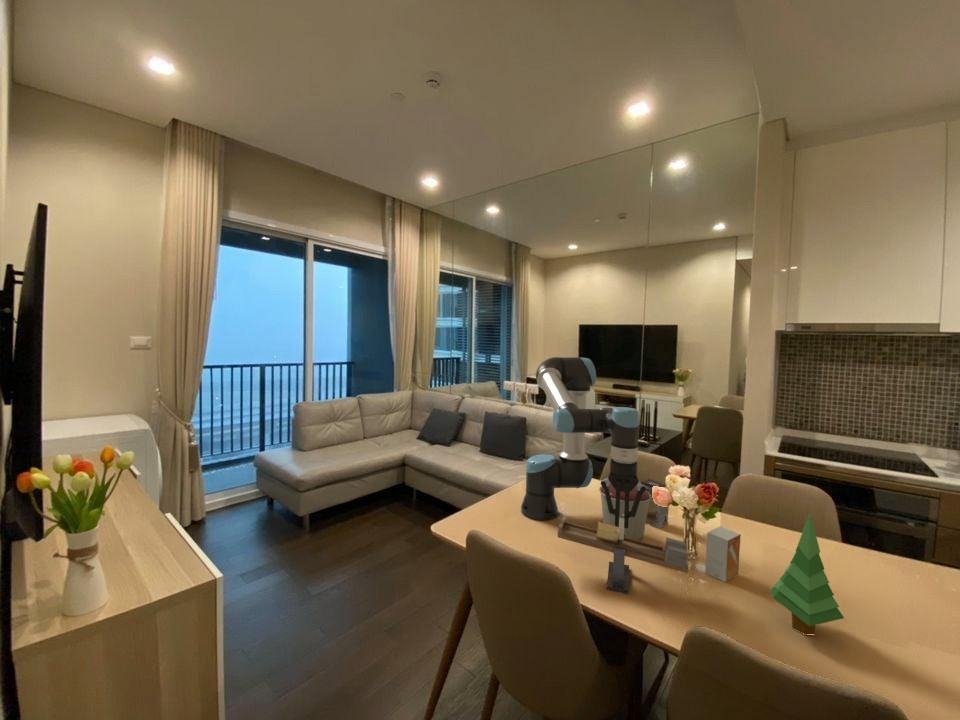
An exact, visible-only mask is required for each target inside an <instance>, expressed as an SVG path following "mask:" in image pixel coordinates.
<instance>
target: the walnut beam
mask: <svg viewBox="0 0 960 720" xmlns="http://www.w3.org/2000/svg"><path fill="white" fill-rule="evenodd" d="M566 520H567V519H566V517H563V516H562V518H561V519H560V522H559V524H558V530H557V538H559V539H564V540H566V541H570V542H573V543H577V544H580V545H583V546H588V547H591V548H595V549H599V550H602V551H606V552H609V553H612V554H614V547H615V548H620V549H625V557H627V558H631V559H635V560H638V561H641V562H645V563H648V564H652V565H656V566H660V567H663V568H666V569H670V570H674V571H677V572H680V573H685V574H688V571H689V567H688V558H689V553H688V552H689V551H688V548H687V545H686V542H685V541H682V540H677V539H675V538H670V537H665V542H664V543H665V544H664V548H663V546H660V545H657V544H652V543H648V542H644V541H641V540H639V541H638V540H634V539H630V538H626V537H624V540H621V539H618V542H617V545H614V544H611V543H607V542H603V541H600V540H596V537H597V530H598V529H595V528H592V527H587V526H584V525H580V524H576V523H572V522H570V521H569V522H568V521H566ZM618 538H619V535H618Z"/></svg>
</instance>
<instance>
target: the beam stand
mask: <svg viewBox="0 0 960 720" xmlns="http://www.w3.org/2000/svg"><path fill="white" fill-rule="evenodd" d="M624 537H625V534H624ZM625 557H626V556H625V549H620V548H615V547H614V553H613V561H608V572H607V579H606V580H607V581H606V582H607V583H606V590H607V591H612V592H616V593H619V594H620V593H621V594H624V595H630V565H628V564H625V560H626V559H625Z"/></svg>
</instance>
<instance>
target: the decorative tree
mask: <svg viewBox="0 0 960 720" xmlns="http://www.w3.org/2000/svg"><path fill="white" fill-rule="evenodd" d="M820 553H821V549H820V546H819V542H818V537H817V534H816V530H815V526H814V522H813V519H812V514H811V512H809V513H808V516H807V519H806V522H805V525H804V527H803V530H802V533H801V535H800V538H799V541H798V543H797V547H796V548H795V553H794V554H793V557H792V559H791V561H790V562H789V565H788V566H787V568H786V569H785V571H784V573H783V574H782V575H781V576H780V577H779V580H778V581H777V582H776V583H775V584H774V587H772V588H771V589H769V592H770V595H771V597H772V598H773V599H774V600H775V601H777V603H779V604H780V605H782V606H783V607H784V608H785V609H787V610H788V611H789V612H790V613H791V622H792V623H791V627H793V628H794V629H796V630H798V631H800V632H802V633H804V634H815V635H816V626H817V625H821V624H826V623H830V622H833V621H839V620H842V619H845V616H844V615H843V614H842V612H841V611H840V610H839V608H840V606H839V604H838V603H837V601H836V599H835V598H834V596H835V593H834V592H833V590H832V589H831V586H830V585H829V583H830V581H829V579H828V577H827V574H826V573H825V566H824V563H823V561H822V557H821V555H820ZM793 628H792V629H793ZM794 629H793V630H794ZM796 630H795V631H796ZM798 631H797V632H798ZM800 632H799V633H800ZM802 633H801V634H802Z"/></svg>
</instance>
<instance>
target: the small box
mask: <svg viewBox="0 0 960 720" xmlns="http://www.w3.org/2000/svg"><path fill="white" fill-rule="evenodd" d="M741 535H742V534H740V533H738V532H736V531H733V530H731V529H728V528H726V527H723V526H718V527H716V528H713V529H711V530H709V531H707V533H706V548H705V549H706V550H705V564H704V565H705V566H704V572H705V574H707V575H710V576H711V577H713V578H715V579H718V580H720V581H722V582H724V583H727V582H728V581H730V580H731V579H733V578H735V577H736V576H738V575H739V569H740V568H739V567H740V566H739V565H740V564H739V563H740V550H741V549H740V547H741Z"/></svg>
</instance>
